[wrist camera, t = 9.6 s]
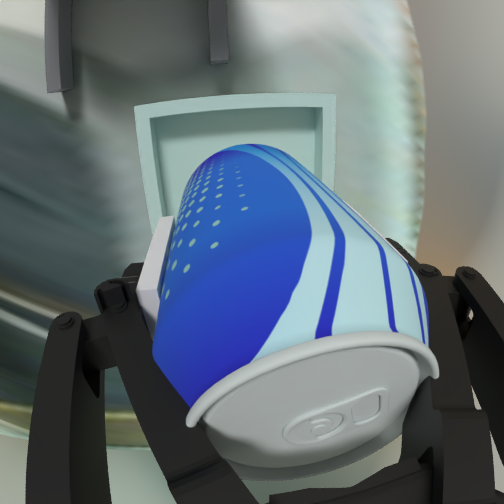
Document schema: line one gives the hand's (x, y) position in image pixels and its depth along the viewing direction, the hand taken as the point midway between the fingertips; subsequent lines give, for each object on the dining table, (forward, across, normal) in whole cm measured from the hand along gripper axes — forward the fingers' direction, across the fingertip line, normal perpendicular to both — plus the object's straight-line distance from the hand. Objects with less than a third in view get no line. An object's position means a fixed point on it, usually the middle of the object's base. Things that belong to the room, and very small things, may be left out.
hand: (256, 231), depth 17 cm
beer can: (+5, 0, 0) cm, 5 cm away
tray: (+9, 0, 0) cm, 9 cm away
